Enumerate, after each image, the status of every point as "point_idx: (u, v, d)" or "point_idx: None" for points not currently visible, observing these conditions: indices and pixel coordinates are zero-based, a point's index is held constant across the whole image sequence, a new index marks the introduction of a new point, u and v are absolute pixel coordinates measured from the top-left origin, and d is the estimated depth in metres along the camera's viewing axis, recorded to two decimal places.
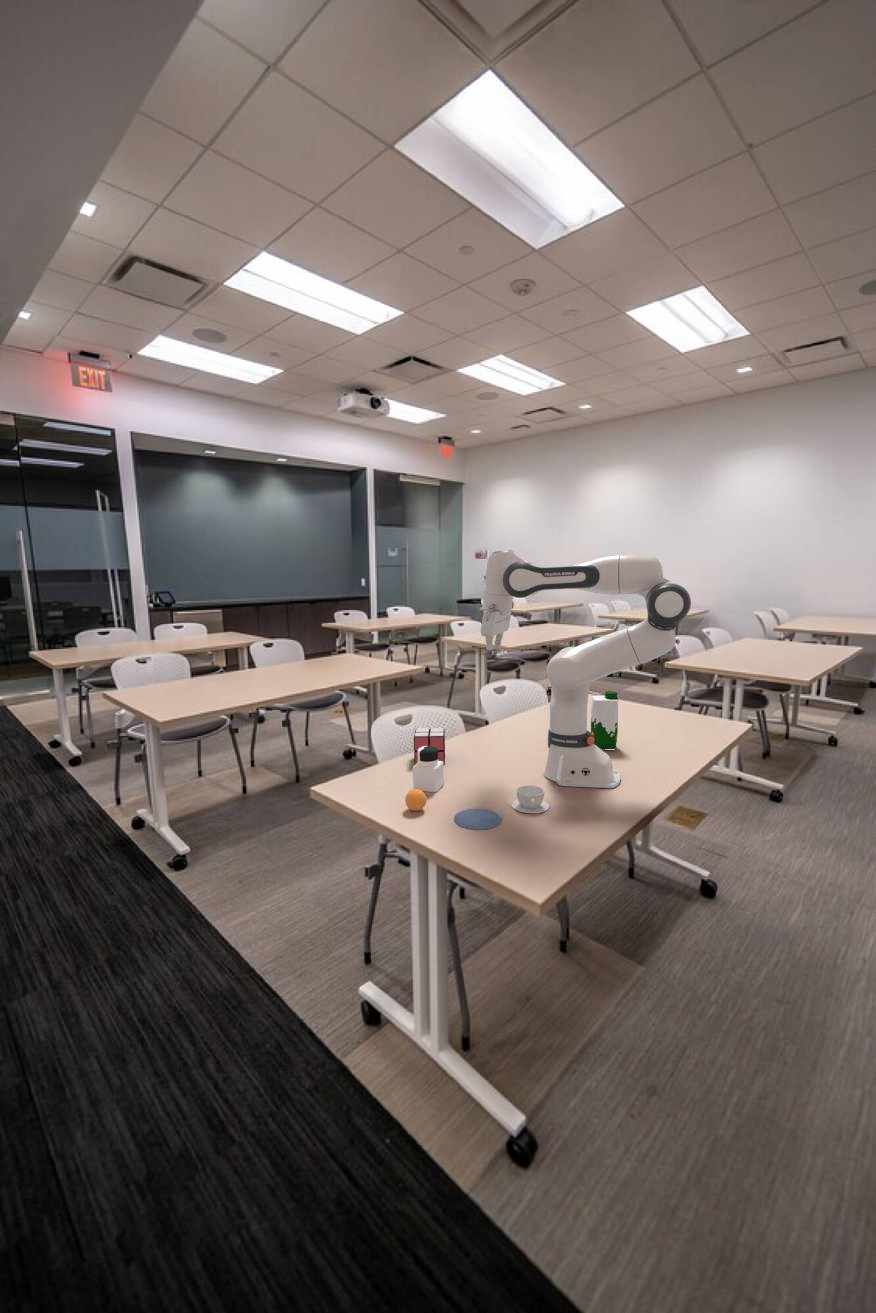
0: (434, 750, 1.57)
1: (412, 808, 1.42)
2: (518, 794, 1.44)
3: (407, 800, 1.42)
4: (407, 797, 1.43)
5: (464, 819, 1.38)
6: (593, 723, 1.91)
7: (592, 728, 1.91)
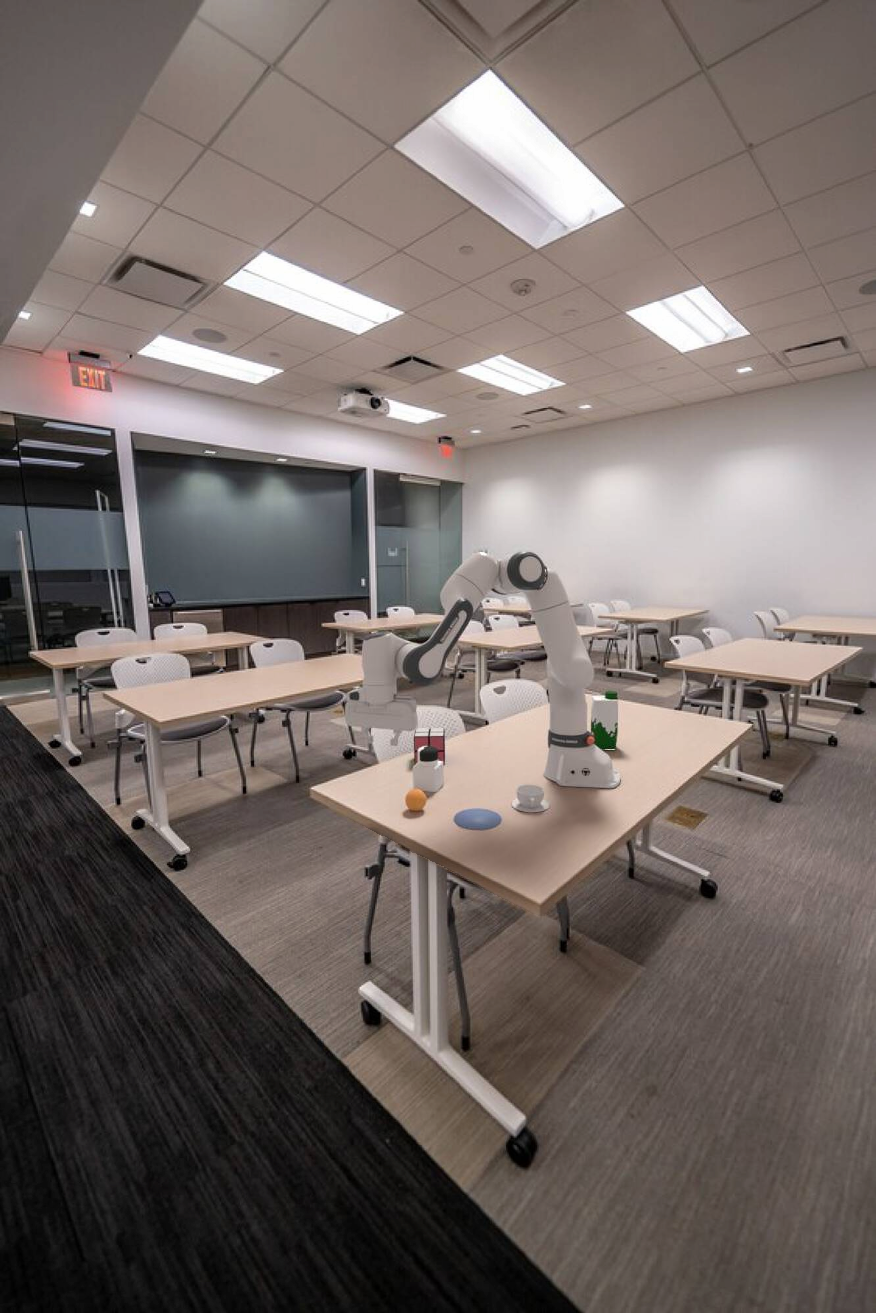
0: (434, 750, 1.57)
1: (412, 808, 1.42)
2: (518, 793, 1.44)
3: (407, 800, 1.42)
4: (407, 797, 1.43)
5: (464, 819, 1.38)
6: (593, 723, 1.91)
7: (592, 728, 1.91)
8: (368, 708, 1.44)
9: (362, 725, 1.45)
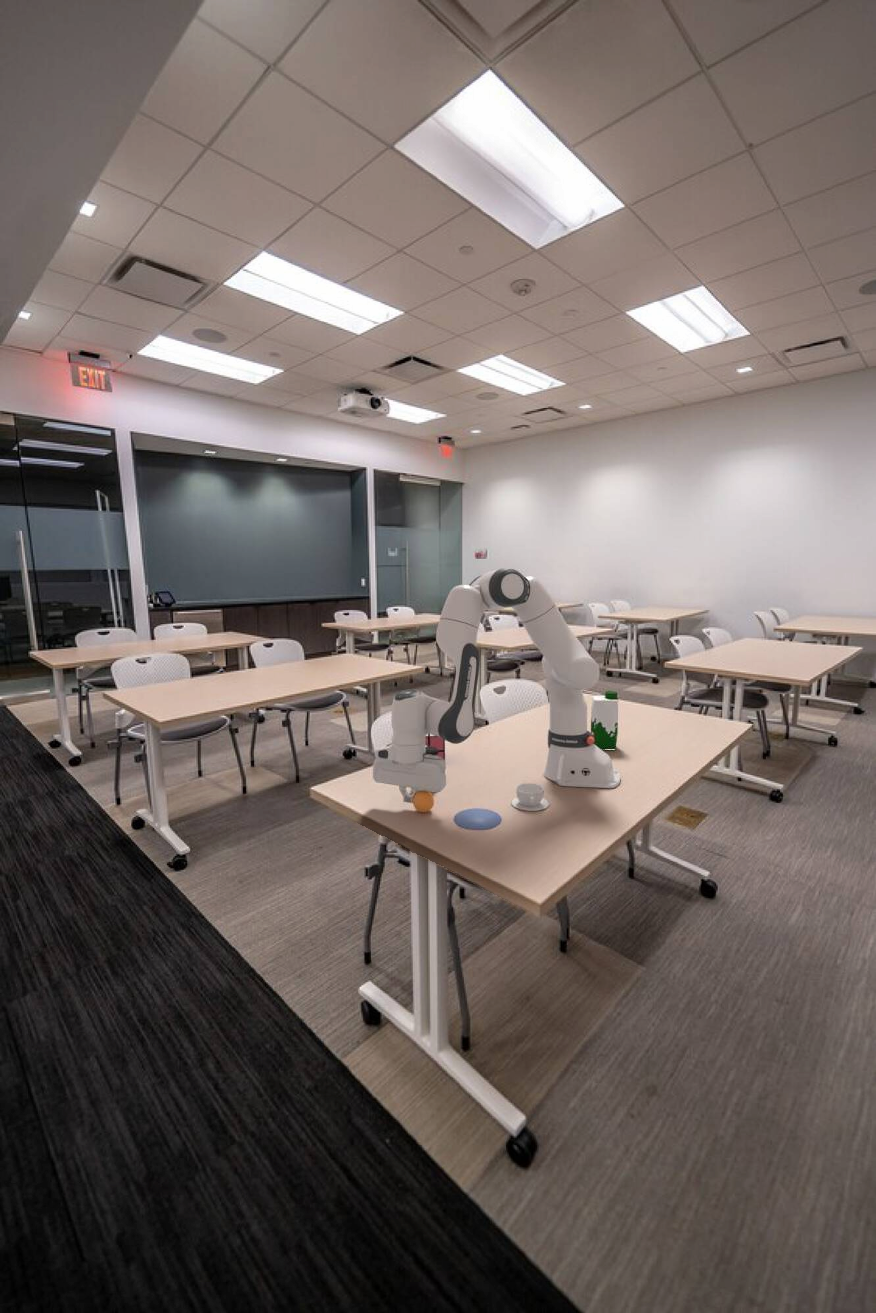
0: (434, 750, 1.57)
1: (417, 809, 1.41)
2: (518, 792, 1.45)
3: (416, 800, 1.41)
4: (418, 797, 1.41)
5: (464, 819, 1.38)
6: (593, 723, 1.91)
7: (592, 728, 1.91)
8: (396, 766, 1.43)
9: (390, 783, 1.44)
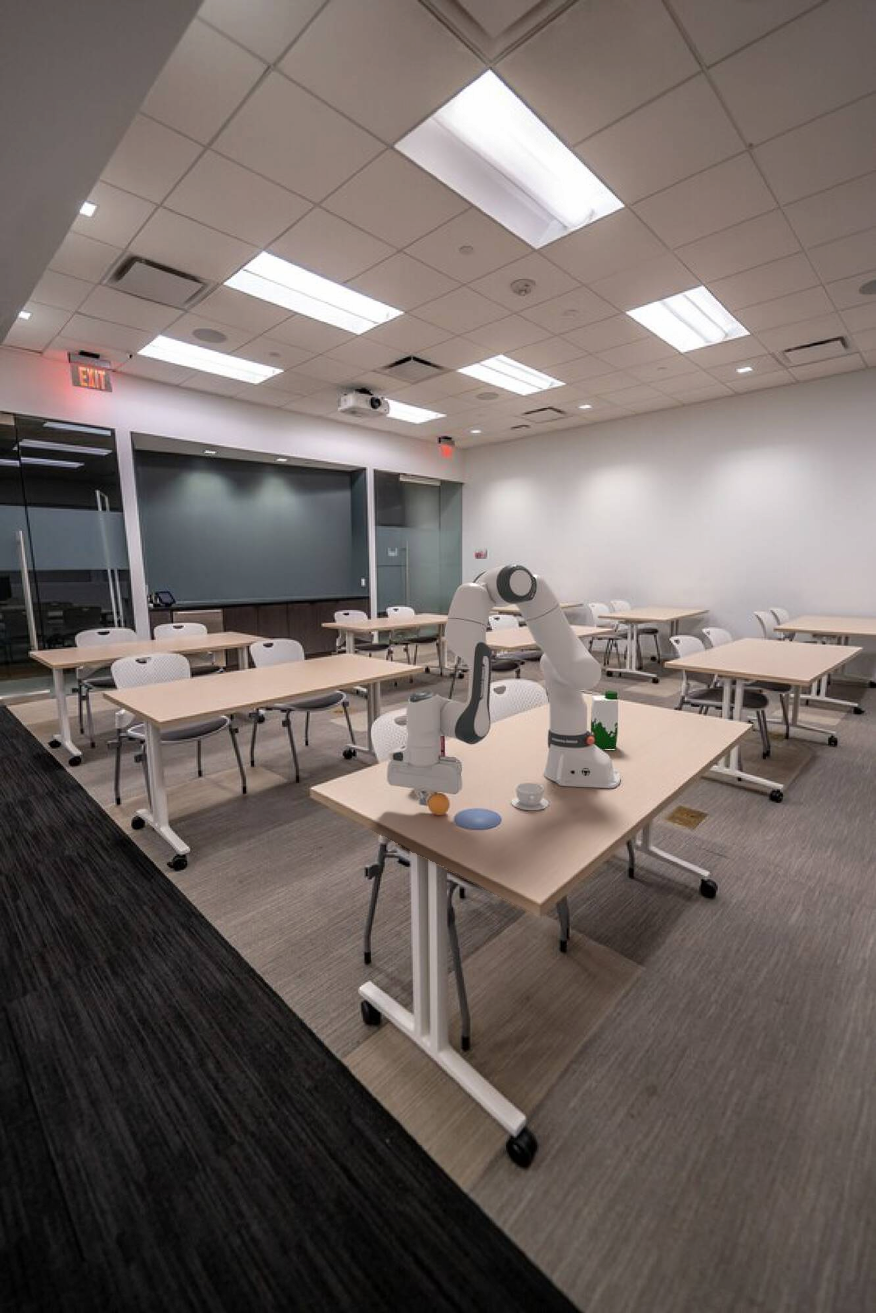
0: None
1: (430, 807, 1.39)
2: (517, 791, 1.45)
3: (438, 803, 1.39)
4: (441, 803, 1.39)
5: (464, 819, 1.38)
6: (593, 723, 1.91)
7: (592, 728, 1.91)
8: (411, 769, 1.41)
9: (405, 785, 1.42)
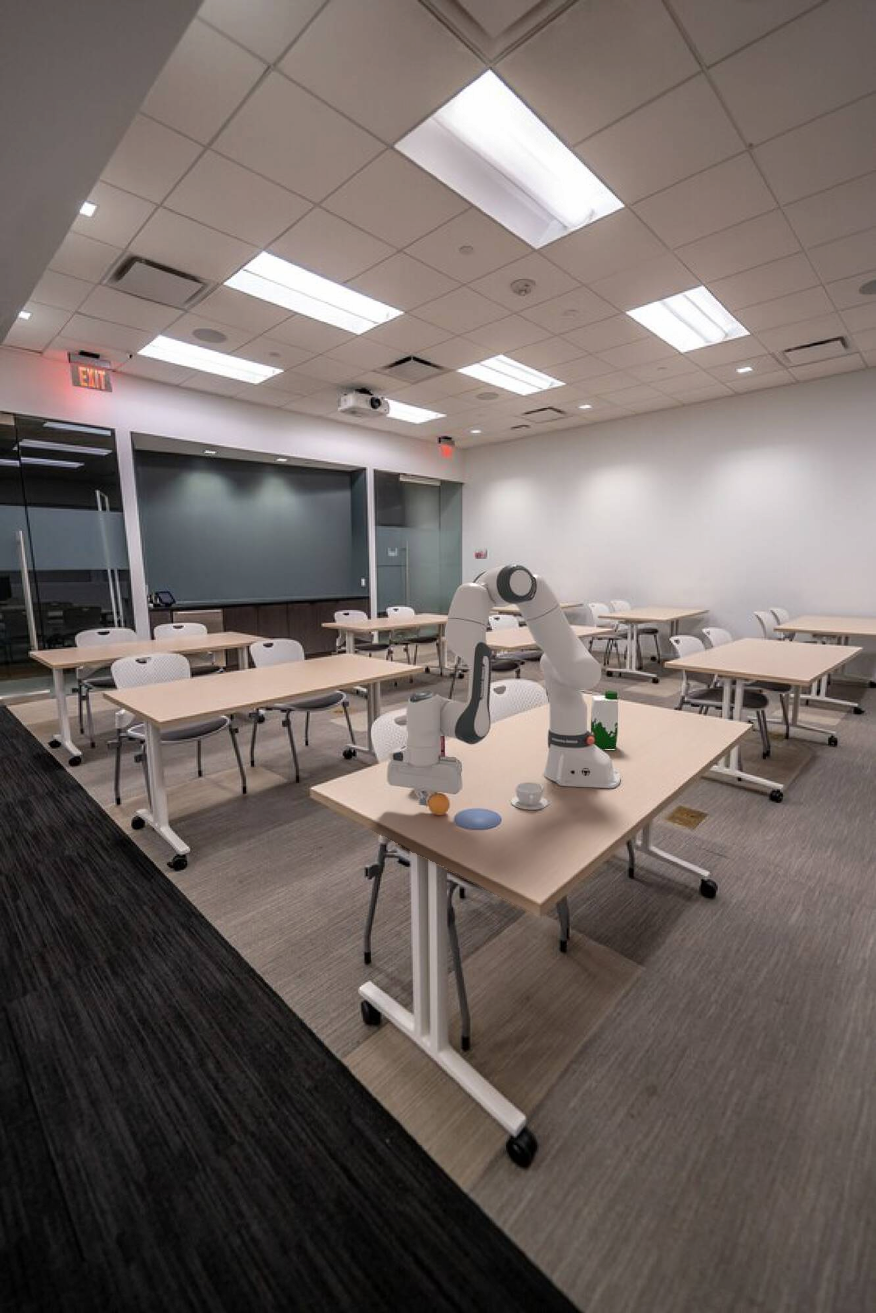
0: None
1: (430, 807, 1.39)
2: (517, 791, 1.46)
3: (438, 803, 1.39)
4: (441, 803, 1.39)
5: (464, 819, 1.38)
6: (593, 723, 1.91)
7: (592, 728, 1.91)
8: (411, 769, 1.41)
9: (405, 785, 1.42)
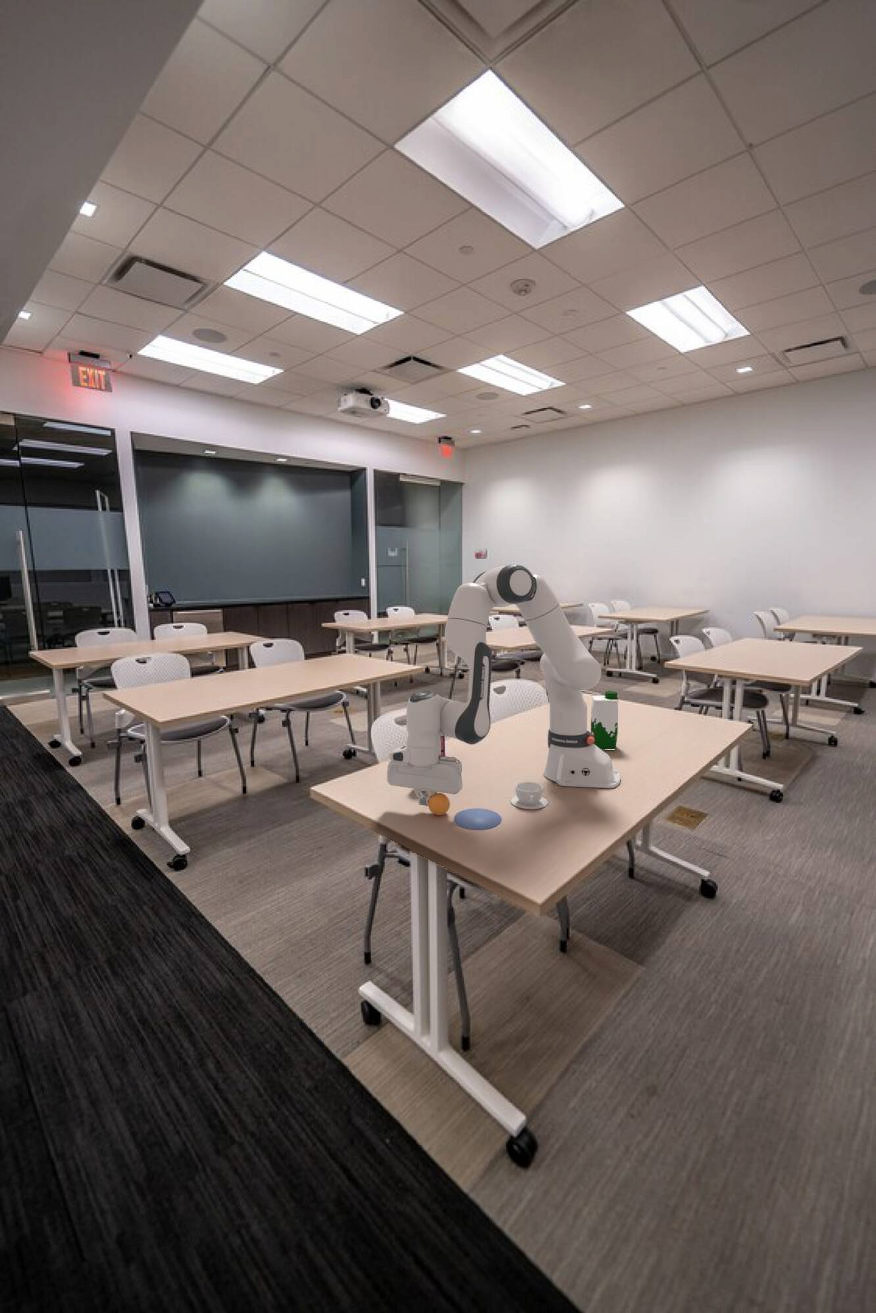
0: None
1: (430, 807, 1.39)
2: (517, 790, 1.46)
3: (438, 803, 1.39)
4: (441, 803, 1.39)
5: (464, 819, 1.38)
6: (593, 723, 1.91)
7: (592, 728, 1.91)
8: (411, 769, 1.41)
9: (405, 785, 1.42)
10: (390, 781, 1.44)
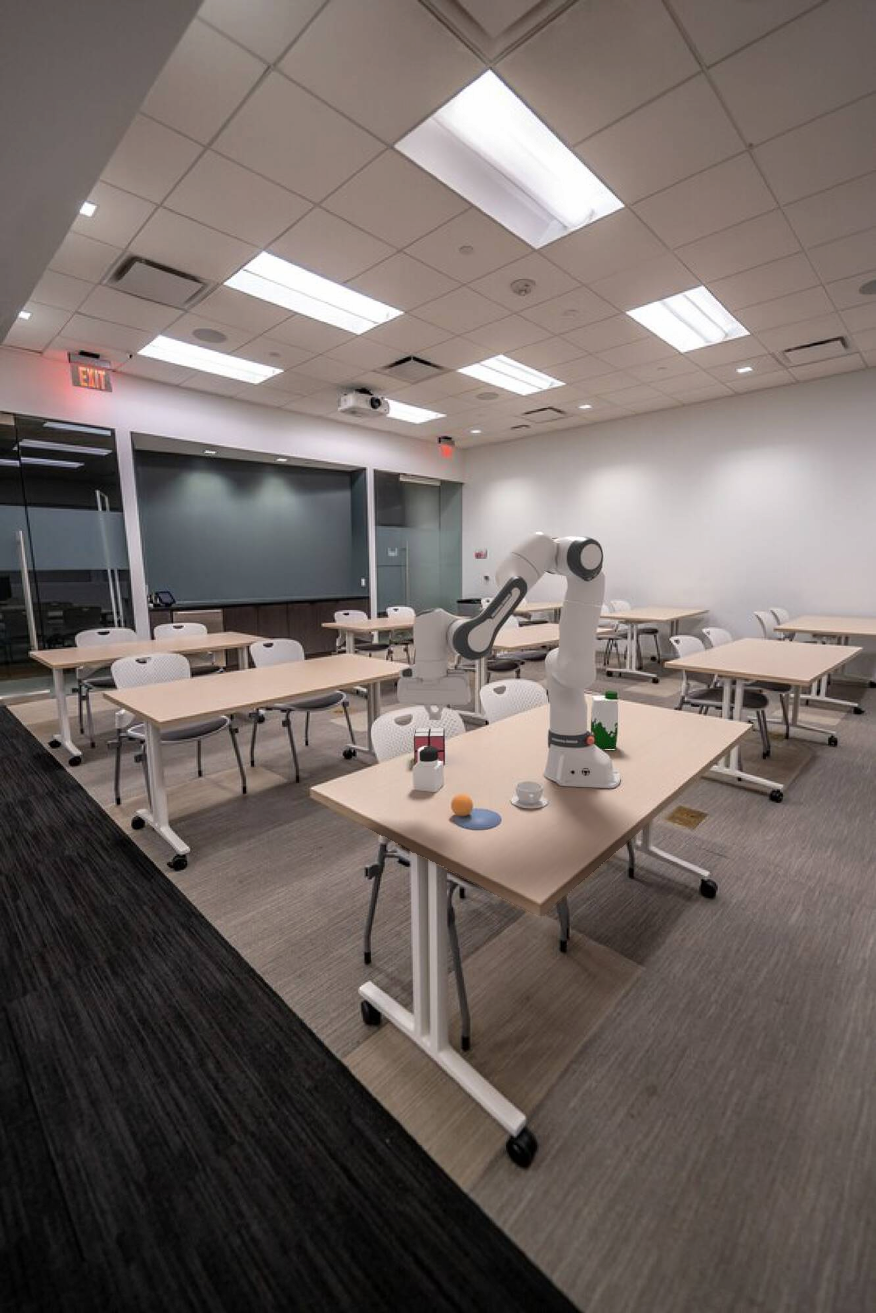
0: (434, 750, 1.57)
1: (463, 803, 1.38)
2: (517, 790, 1.47)
3: (463, 812, 1.38)
4: (462, 814, 1.38)
5: (464, 819, 1.38)
6: (593, 723, 1.91)
7: (592, 728, 1.91)
8: (421, 684, 1.46)
9: (415, 701, 1.47)
10: (400, 699, 1.48)
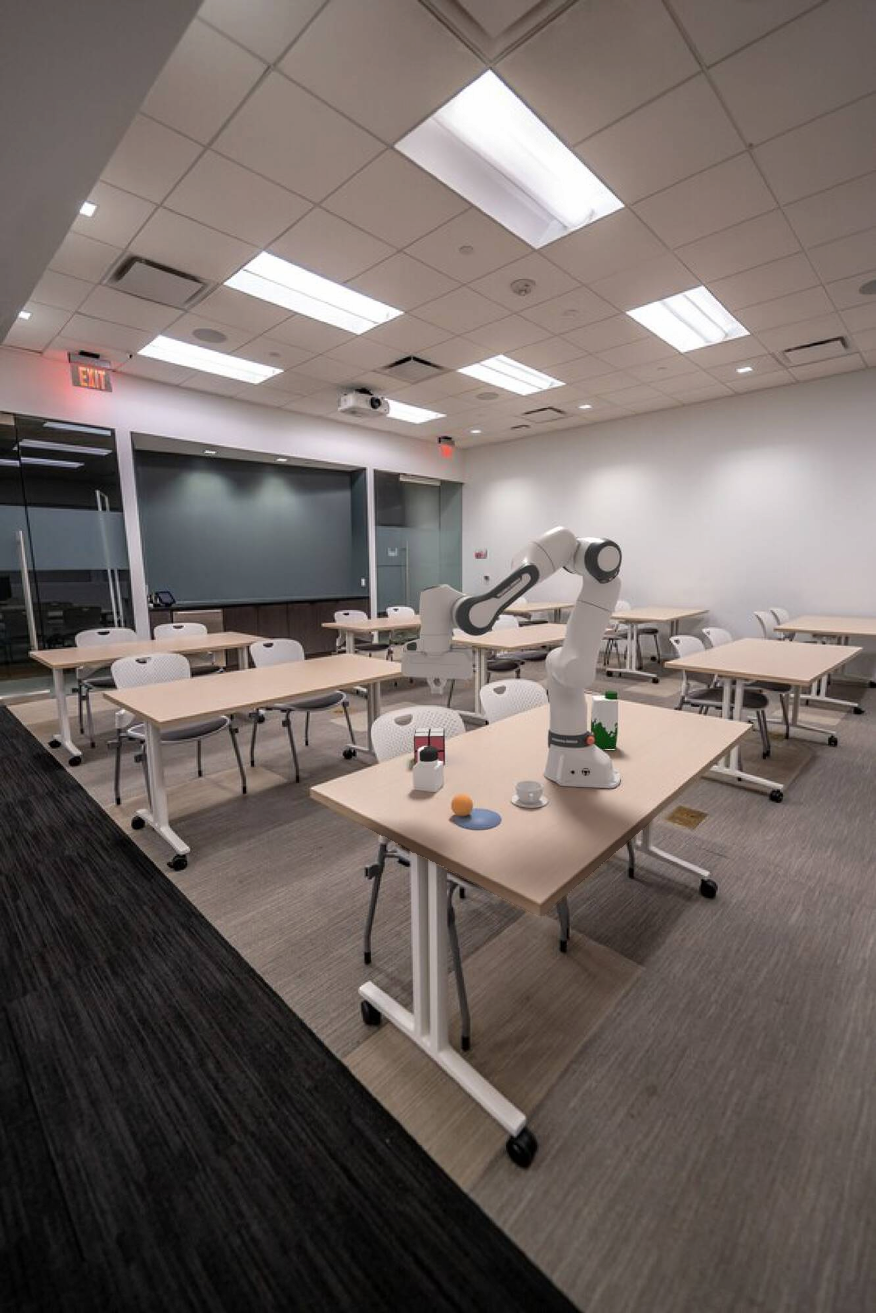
0: (434, 750, 1.57)
1: (463, 803, 1.38)
2: (517, 789, 1.47)
3: (463, 812, 1.38)
4: (462, 814, 1.38)
5: (464, 819, 1.38)
6: (593, 723, 1.91)
7: (592, 728, 1.91)
8: (425, 658, 1.49)
9: (418, 675, 1.50)
10: (404, 672, 1.51)
